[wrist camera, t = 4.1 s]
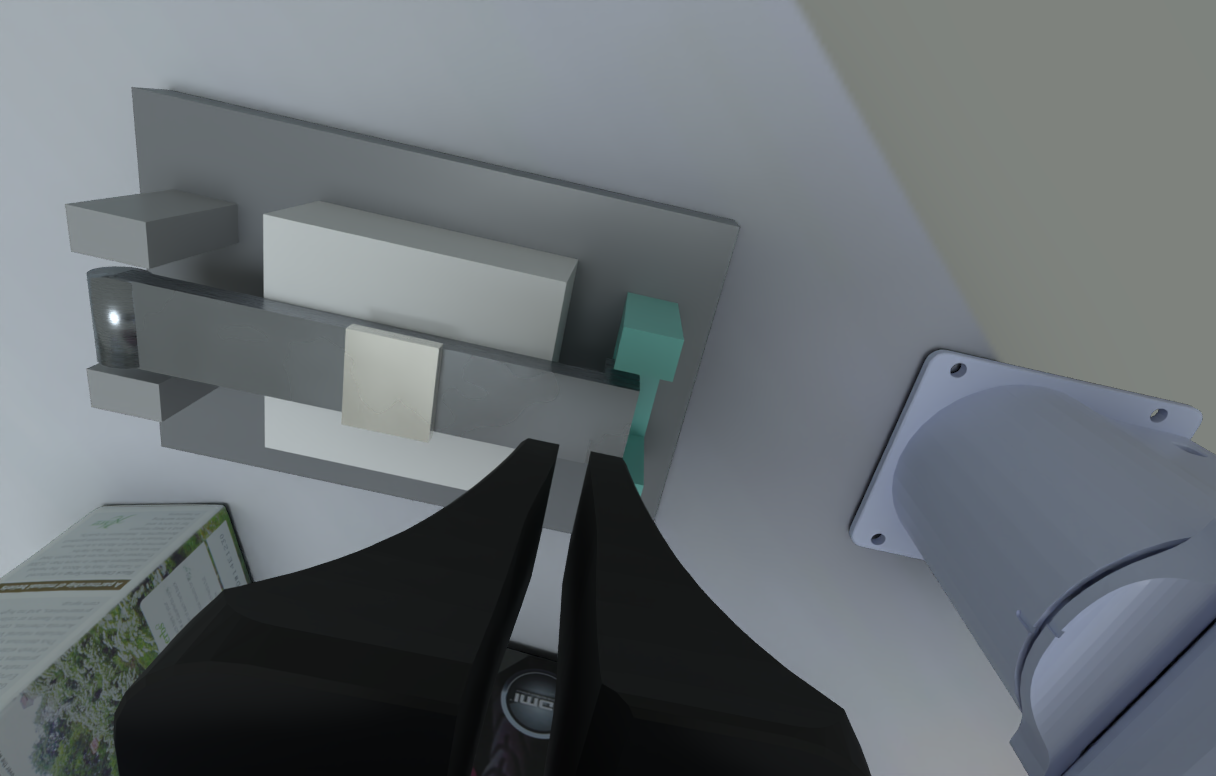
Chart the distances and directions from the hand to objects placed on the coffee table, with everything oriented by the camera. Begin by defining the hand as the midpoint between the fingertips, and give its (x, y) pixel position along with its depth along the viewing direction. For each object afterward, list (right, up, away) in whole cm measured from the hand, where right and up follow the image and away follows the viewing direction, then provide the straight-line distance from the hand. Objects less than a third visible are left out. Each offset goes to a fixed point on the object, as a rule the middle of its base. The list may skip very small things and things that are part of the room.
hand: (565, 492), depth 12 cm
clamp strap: (-6, +3, +7) cm, 9 cm away
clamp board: (-5, +4, +10) cm, 12 cm away
